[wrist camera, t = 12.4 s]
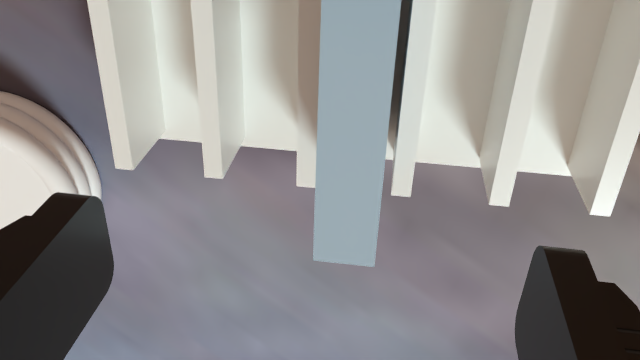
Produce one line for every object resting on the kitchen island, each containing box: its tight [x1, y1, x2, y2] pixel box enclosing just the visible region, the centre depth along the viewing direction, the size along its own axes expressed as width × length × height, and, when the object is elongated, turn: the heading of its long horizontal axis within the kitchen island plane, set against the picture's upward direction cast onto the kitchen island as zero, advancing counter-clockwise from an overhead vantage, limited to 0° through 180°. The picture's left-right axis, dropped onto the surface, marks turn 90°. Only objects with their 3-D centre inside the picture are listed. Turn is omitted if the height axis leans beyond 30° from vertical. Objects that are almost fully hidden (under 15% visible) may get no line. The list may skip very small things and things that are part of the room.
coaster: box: [0, 91, 102, 229], centre depth 32 cm, size 10×10×4 cm
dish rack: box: [87, 0, 640, 216], centre depth 24 cm, size 13×22×5 cm, turn 88°
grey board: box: [313, 0, 401, 267], centre depth 21 cm, size 10×2×10 cm, turn 178°
